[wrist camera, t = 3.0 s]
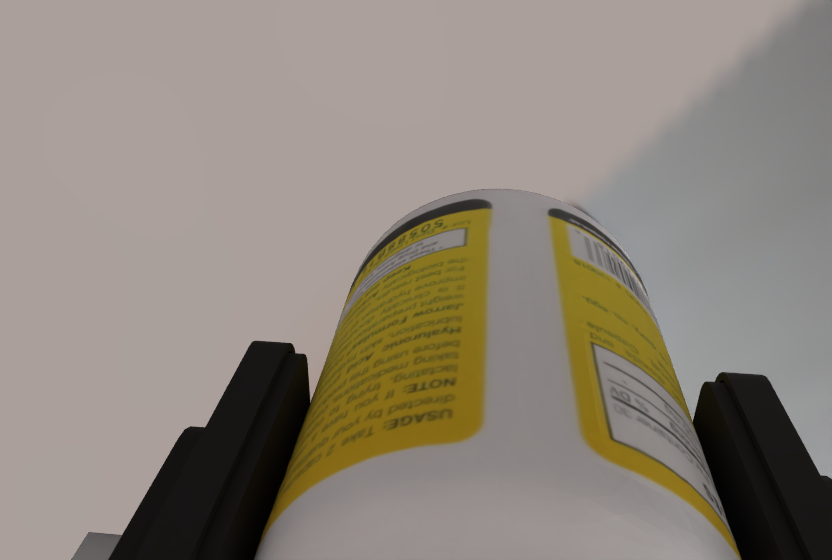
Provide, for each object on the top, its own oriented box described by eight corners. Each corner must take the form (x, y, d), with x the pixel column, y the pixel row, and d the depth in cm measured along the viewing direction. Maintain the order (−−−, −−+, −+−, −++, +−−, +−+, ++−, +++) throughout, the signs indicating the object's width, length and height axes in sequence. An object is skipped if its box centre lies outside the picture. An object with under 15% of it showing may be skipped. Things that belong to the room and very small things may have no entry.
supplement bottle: (339, 406, 15) (116, 1110, 6) (368, 155, 12) (57, 777, 4) (602, 454, 15) (737, 1238, 6) (688, 211, 12) (1126, 986, 4)
